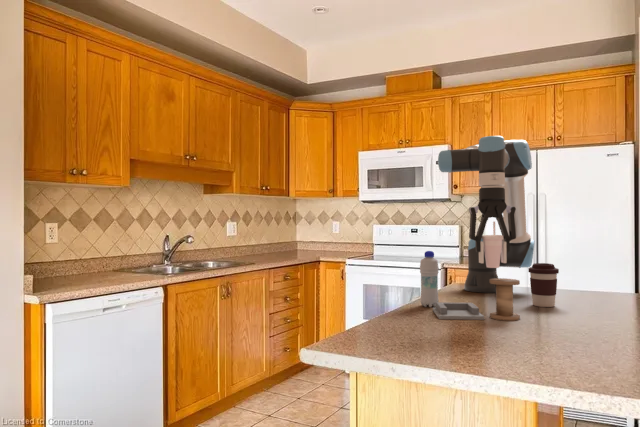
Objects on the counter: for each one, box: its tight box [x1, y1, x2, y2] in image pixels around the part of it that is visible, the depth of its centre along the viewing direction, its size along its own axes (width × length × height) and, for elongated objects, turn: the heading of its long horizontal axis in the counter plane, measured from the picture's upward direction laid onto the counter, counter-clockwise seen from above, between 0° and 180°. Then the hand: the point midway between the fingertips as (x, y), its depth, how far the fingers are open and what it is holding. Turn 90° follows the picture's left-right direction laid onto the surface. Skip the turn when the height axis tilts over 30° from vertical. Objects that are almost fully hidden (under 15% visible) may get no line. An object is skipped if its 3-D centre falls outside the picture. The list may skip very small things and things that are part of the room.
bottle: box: [419, 250, 439, 308], centre depth 177 cm, size 7×7×20 cm
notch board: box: [432, 301, 486, 321], centre depth 161 cm, size 14×14×3 cm
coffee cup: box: [527, 262, 560, 308], centre depth 176 cm, size 10×10×15 cm
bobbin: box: [489, 277, 521, 322], centre depth 156 cm, size 9×9×12 cm
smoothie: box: [482, 220, 504, 269], centre depth 150 cm, size 6×6×14 cm
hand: (492, 262), depth 150 cm, fingers closed on smoothie, 6 cm apart
